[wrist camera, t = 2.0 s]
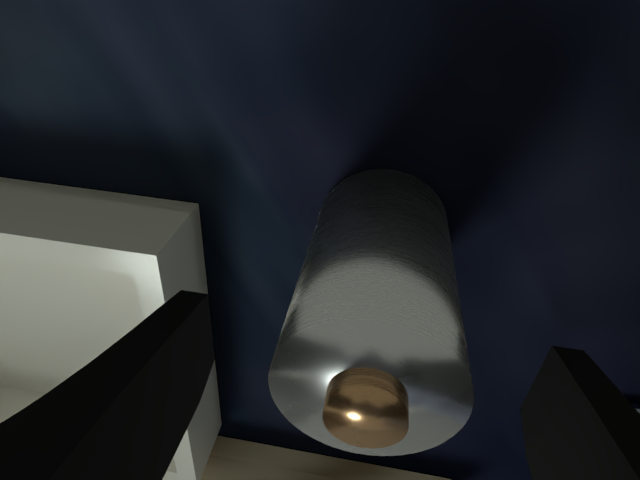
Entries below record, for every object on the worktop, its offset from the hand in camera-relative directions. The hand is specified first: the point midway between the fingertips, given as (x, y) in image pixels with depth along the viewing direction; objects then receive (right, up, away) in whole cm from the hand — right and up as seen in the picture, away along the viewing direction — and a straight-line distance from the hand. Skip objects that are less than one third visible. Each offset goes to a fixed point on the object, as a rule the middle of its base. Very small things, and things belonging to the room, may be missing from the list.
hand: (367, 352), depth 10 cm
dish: (-11, -1, +9) cm, 14 cm away
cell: (+1, +3, +4) cm, 5 cm away
